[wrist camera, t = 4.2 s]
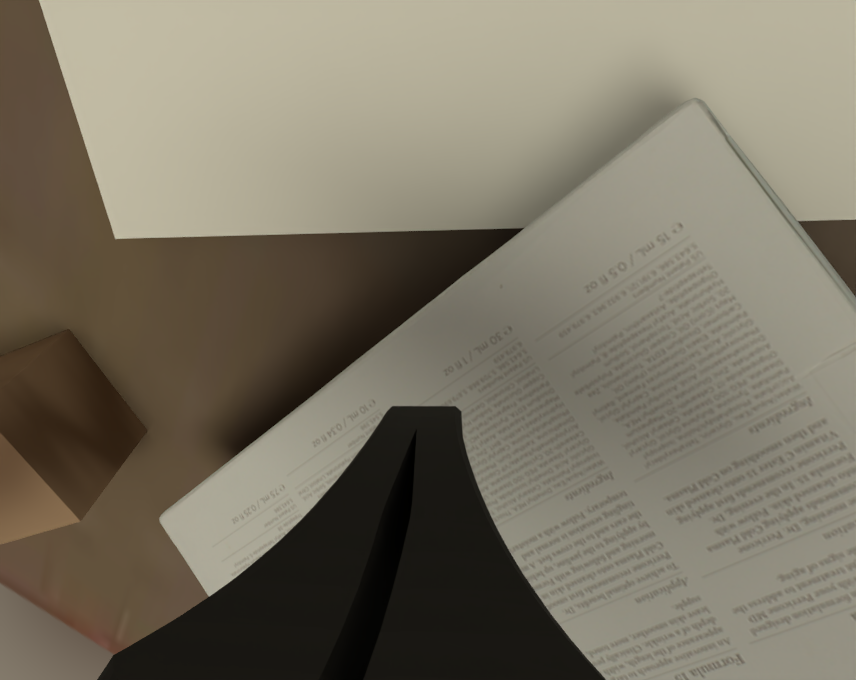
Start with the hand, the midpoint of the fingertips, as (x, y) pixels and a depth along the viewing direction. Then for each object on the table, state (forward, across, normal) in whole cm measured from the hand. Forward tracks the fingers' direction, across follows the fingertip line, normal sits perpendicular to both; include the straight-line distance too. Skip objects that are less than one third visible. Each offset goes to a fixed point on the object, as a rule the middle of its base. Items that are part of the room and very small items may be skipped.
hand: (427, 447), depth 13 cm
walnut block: (+10, +16, +6) cm, 20 cm away
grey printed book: (+8, +2, +2) cm, 8 cm away
